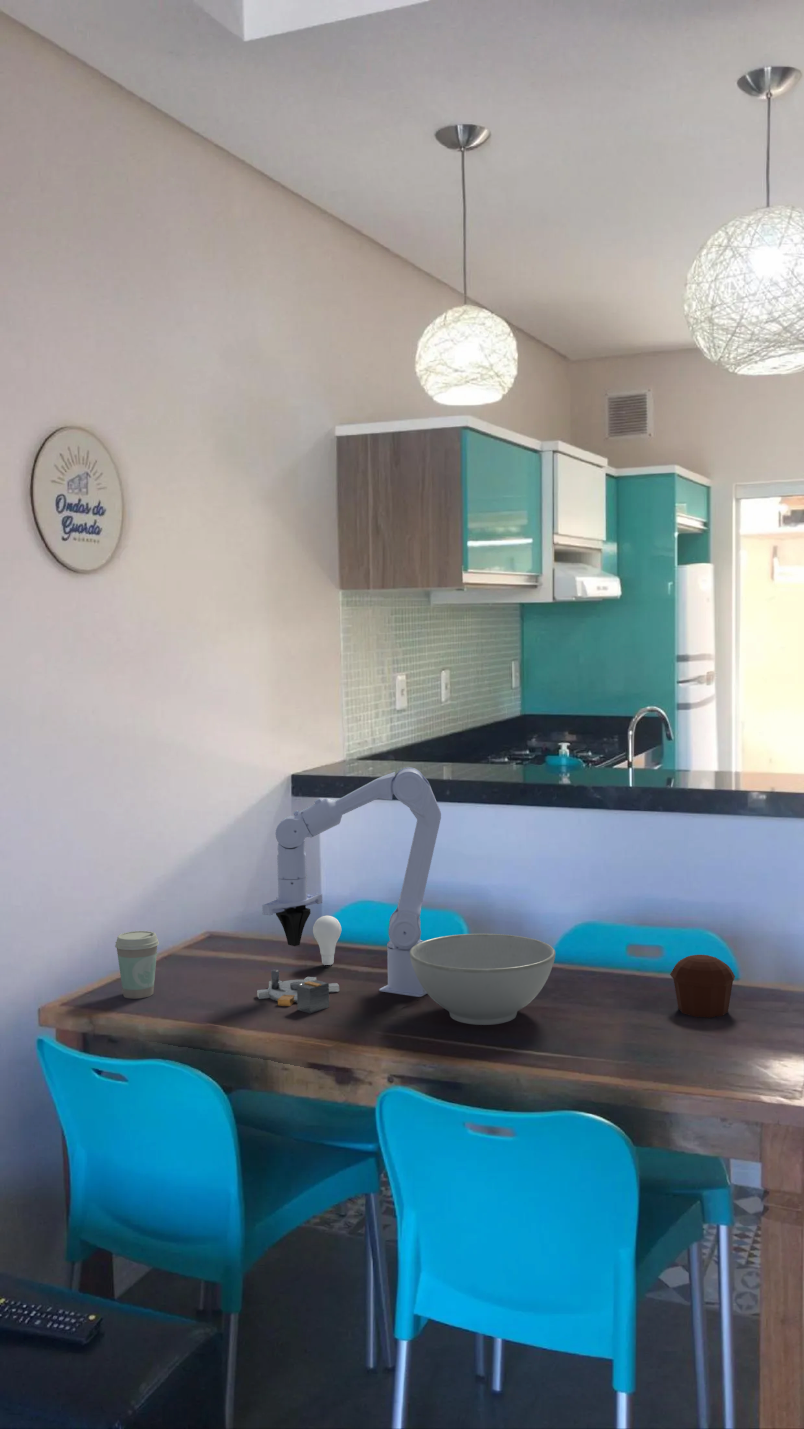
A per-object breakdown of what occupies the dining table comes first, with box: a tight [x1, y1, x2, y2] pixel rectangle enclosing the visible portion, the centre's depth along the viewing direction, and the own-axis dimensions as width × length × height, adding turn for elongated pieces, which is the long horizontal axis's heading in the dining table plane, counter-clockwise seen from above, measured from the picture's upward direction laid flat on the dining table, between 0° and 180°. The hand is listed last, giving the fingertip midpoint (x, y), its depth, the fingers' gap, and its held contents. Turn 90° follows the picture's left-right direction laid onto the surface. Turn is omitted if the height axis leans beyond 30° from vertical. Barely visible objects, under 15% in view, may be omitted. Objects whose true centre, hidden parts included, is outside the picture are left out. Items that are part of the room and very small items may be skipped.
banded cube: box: [296, 979, 330, 1014], centre depth 224 cm, size 3×5×5 cm
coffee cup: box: [114, 930, 160, 1000], centre depth 236 cm, size 8×8×12 cm
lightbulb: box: [312, 915, 342, 966], centre depth 256 cm, size 6×6×11 cm
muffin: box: [669, 954, 736, 1019], centre depth 220 cm, size 12×11×10 cm
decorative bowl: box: [410, 933, 556, 1026], centre depth 219 cm, size 27×27×12 cm
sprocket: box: [256, 969, 340, 1007], centre depth 234 cm, size 16×16×5 cm
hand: (293, 945), depth 237 cm, fingers closed
